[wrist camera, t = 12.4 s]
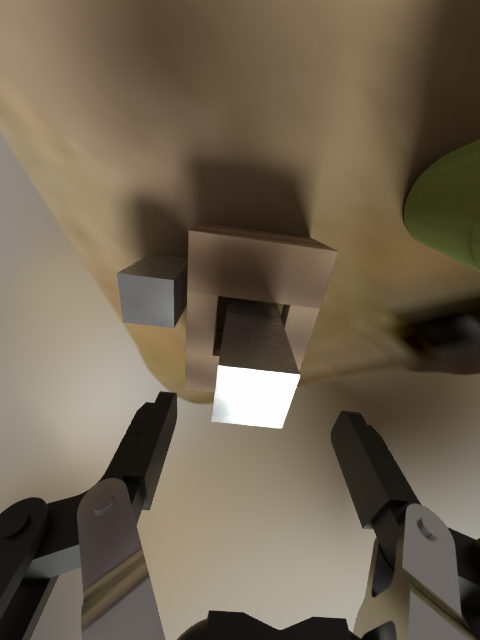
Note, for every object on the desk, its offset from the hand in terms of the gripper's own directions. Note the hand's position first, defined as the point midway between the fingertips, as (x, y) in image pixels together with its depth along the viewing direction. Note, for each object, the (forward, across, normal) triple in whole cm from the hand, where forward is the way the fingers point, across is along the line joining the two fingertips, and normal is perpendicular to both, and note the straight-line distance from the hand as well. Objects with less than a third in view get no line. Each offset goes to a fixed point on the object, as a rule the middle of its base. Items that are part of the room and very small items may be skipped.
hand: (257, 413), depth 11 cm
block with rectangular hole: (+15, 0, 0) cm, 15 cm away
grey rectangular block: (+15, +8, -1) cm, 17 cm away
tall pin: (+15, 0, 0) cm, 15 cm away
